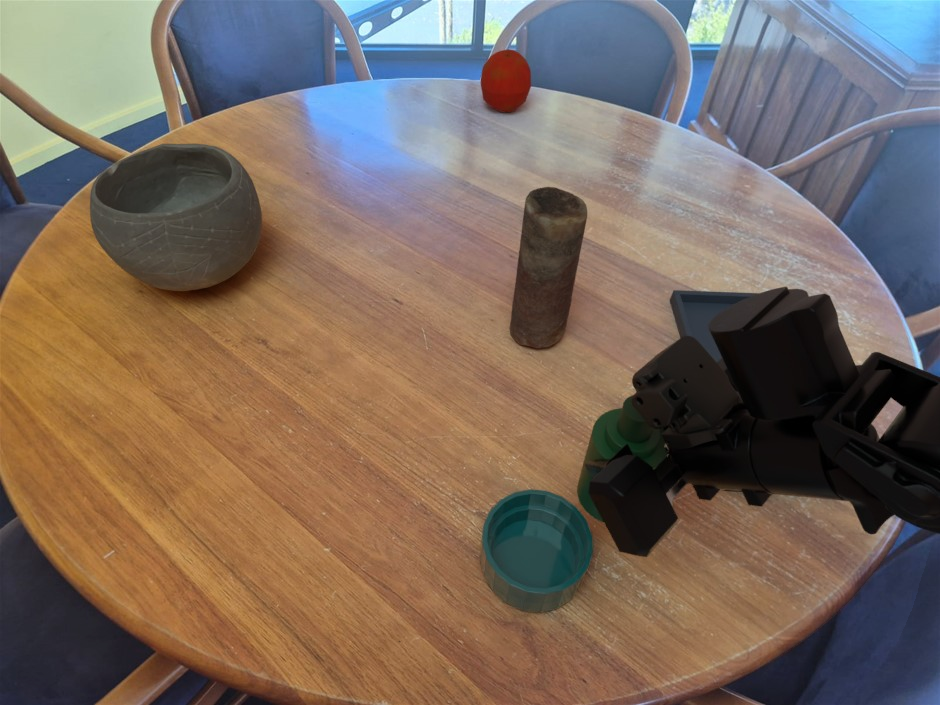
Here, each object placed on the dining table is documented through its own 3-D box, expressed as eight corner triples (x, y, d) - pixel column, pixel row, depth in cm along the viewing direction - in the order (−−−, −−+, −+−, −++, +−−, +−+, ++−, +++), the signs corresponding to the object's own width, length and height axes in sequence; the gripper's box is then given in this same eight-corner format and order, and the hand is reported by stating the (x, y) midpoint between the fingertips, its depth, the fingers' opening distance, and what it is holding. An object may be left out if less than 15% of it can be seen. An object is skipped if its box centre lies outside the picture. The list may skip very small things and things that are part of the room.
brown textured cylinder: (531, 304, 86) (549, 177, 72) (576, 329, 83) (603, 201, 69) (498, 334, 82) (509, 205, 68) (543, 360, 79) (565, 231, 65)
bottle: (659, 499, 58) (699, 414, 49) (612, 538, 55) (644, 455, 46) (609, 454, 61) (637, 366, 52) (562, 488, 59) (583, 401, 49)
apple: (490, 92, 132) (493, 35, 123) (535, 102, 129) (541, 44, 121) (472, 112, 125) (473, 53, 117) (518, 122, 123) (524, 63, 114)
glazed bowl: (604, 558, 61) (614, 534, 58) (542, 638, 56) (549, 617, 52) (523, 496, 66) (527, 471, 62) (459, 565, 60) (459, 541, 57)
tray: (841, 495, 67) (850, 485, 66) (725, 491, 67) (731, 481, 65) (758, 303, 88) (763, 293, 86) (669, 300, 88) (673, 289, 86)
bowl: (232, 330, 82) (198, 236, 71) (90, 303, 84) (36, 209, 73) (297, 236, 96) (278, 146, 85) (173, 216, 98) (139, 126, 87)
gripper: (795, 281, 44) (635, 316, 58) (641, 424, 35) (494, 426, 49) (853, 414, 46) (685, 417, 59) (721, 582, 37) (558, 542, 50)
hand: (612, 445), depth 54 cm, fingers closed on bottle, 6 cm apart
